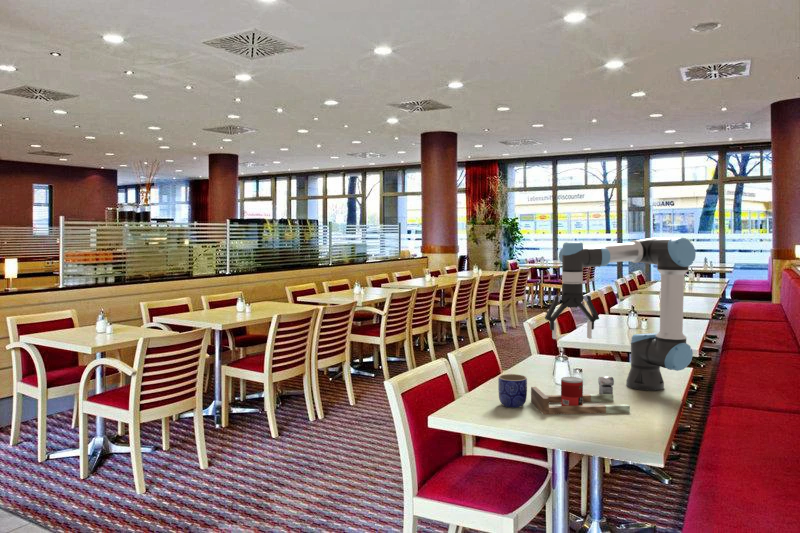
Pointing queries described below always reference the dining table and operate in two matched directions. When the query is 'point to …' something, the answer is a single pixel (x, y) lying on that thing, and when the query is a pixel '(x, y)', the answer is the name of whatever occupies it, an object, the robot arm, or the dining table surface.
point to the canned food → (571, 391)
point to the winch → (606, 385)
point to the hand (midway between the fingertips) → (571, 338)
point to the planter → (512, 390)
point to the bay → (543, 405)
